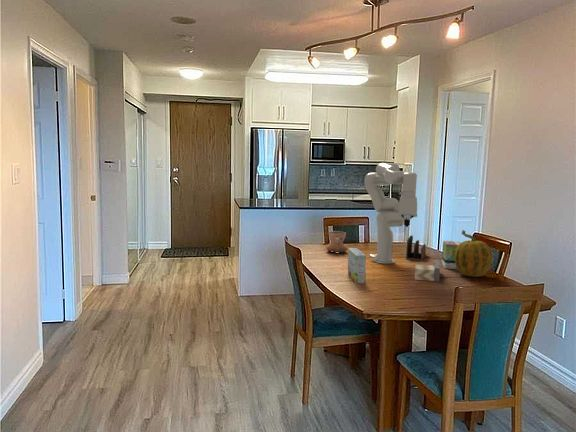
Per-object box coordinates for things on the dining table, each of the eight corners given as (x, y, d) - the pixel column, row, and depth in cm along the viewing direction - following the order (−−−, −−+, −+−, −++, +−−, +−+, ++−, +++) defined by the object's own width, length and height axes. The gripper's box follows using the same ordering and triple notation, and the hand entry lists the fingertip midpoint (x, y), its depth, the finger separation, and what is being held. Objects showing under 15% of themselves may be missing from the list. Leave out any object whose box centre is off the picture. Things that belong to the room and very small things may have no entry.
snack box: (346, 274, 264) (347, 247, 262) (356, 274, 264) (357, 247, 263) (355, 284, 243) (356, 255, 241) (366, 283, 243) (367, 255, 242)
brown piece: (347, 254, 321) (348, 234, 319) (326, 254, 322) (326, 233, 321) (346, 250, 338) (347, 230, 337) (326, 249, 340) (327, 230, 338)
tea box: (462, 269, 278) (463, 244, 277) (444, 268, 280) (445, 244, 279) (458, 264, 293) (459, 240, 291) (441, 263, 295) (442, 240, 293)
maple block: (414, 279, 254) (414, 268, 253) (415, 274, 265) (415, 264, 264) (434, 281, 251) (434, 270, 250) (434, 276, 262) (434, 265, 261)
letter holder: (405, 259, 307) (406, 238, 305) (410, 254, 325) (411, 234, 323) (421, 261, 303) (422, 239, 301) (425, 255, 321) (426, 235, 320)
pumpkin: (449, 271, 272) (451, 228, 270) (483, 272, 272) (485, 229, 269) (460, 279, 254) (462, 233, 251) (496, 280, 253) (499, 233, 251)
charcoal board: (434, 281, 250) (434, 268, 249) (434, 272, 271) (434, 260, 270) (439, 281, 249) (439, 268, 248) (438, 272, 270) (439, 260, 269)
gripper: (394, 194, 266) (392, 226, 269) (422, 195, 262) (419, 228, 265) (395, 193, 274) (394, 224, 276) (422, 194, 269) (420, 226, 272)
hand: (406, 226), depth 271 cm, fingers closed
